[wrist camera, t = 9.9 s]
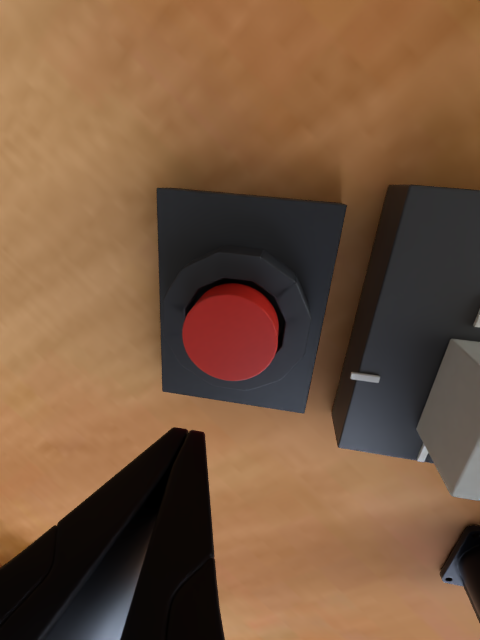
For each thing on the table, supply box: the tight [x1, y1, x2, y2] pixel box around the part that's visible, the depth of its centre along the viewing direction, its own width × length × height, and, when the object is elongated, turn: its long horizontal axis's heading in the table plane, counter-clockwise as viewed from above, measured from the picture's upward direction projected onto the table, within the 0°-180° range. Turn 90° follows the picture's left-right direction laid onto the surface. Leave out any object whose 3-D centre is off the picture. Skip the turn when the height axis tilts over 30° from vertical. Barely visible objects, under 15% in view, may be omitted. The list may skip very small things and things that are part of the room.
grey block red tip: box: [416, 339, 480, 501], centre depth 14 cm, size 6×2×4 cm, turn 176°
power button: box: [182, 283, 279, 381], centre depth 15 cm, size 4×4×2 cm
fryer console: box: [332, 185, 480, 463], centre depth 16 cm, size 14×10×3 cm
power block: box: [157, 188, 347, 413], centre depth 17 cm, size 12×9×4 cm
